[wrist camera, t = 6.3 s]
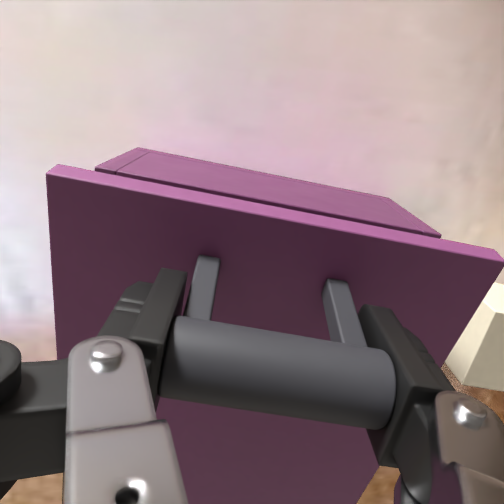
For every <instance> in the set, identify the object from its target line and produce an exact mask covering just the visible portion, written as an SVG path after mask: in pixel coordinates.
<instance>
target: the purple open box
mask: <svg viewBox="0 0 504 504" xmlns="http://www.w3.org/2000/svg"><path fill="white" fill-rule="evenodd" d="M95 171H96V172H101V173H106V174H111V175H117V176H122V177H127V178H132V179H137V180H142V181H147V182H152V183H157V184H163V185H168V186H173V187H178V188H183V189H188V190H193V191H198V192H203V193H209V194H214V195H219V196H224V197H229V198H234V199H239V200H244V201H249V202H255V203H260V204H265V205H270V206H275V207H280V208H285V209H290V210H295V211H301V212H306V213H311V214H316V215H321V216H326V217H331V218H336V219H341V220H347V221H352V222H357V223H362V224H367V225H372V226H377V227H382V228H387V229H393V230H398V231H403V232H408V233H413V234H418V235H423V236H428V237H433V238H439V239H440V238H441V234H440V233H438V232H437V231H435V230H434V229H433V228H431V227H430V226H428V225H427V224H425V223H424V222H422V221H421V220H420V219H418V218H417V217H415V216H414V215H412V214H411V213H410V212H408V211H407V210H405V209H404V208H402V207H401V206H399V205H398V204H397V203H395V202H394V201H392V200H391V199H389V198H386V197H381V196H376V195H371V194H366V193H361V192H356V191H351V190H346V189H341V188H336V187H331V186H326V185H321V184H316V183H311V182H307V181H302V180H297V179H292V178H287V177H282V176H277V175H272V174H267V173H262V172H257V171H252V170H247V169H242V168H237V167H232V166H227V165H223V164H218V163H213V162H208V161H203V160H198V159H193V158H188V157H183V156H178V155H173V154H168V153H163V152H158V151H153V150H148V149H143V148H135V149H133V150H131V151H128V152H126V153H124V154H122V155H120V156H117V157H115V158H113V159H111V160H109V161H106V162H104V163H102V164H100V165H97V166H95Z"/></svg>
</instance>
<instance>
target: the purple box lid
mask: <svg viewBox="0 0 504 504" xmlns="http://www.w3.org/2000/svg"><path fill="white" fill-rule="evenodd" d="M46 184H47V201H48V217H49V233H50V250H51V266H52V282H53V298H54V315H55V331H56V347H57V360H60V359H65V358H68V357H69V353H70V351H71V350H72V349H73V347H74V346H76V345H77V344H78V343H80V342H82V341H84V340H86V339H89V338H92V337H96V336H97V335H98V333H99V332H100V330H101V328H102V327H103V325H104V323H105V322H106V320H107V318H108V317H109V315H110V314H111V312H112V310H113V309H114V307H115V305H116V304H117V302H118V300H120V297H121V296H122V294H123V292H124V291H125V289H126V288H127V287H129V286H131V285H133V284H134V283H136V282H138V281H142V282H148V283H154V282H155V280H156V277H157V275H158V273H159V271H160V269H161V268H168V269H174V270H179V271H185V272H187V281H186V288H185V294H184V300H183V307H182V313H181V316H180V315H177V316H175V317H174V318H173V321H172V324H171V327H170V331H169V334H168V338H167V343H166V347H165V352H164V357H163V362H162V367H161V373H160V379H159V387H158V394H159V396H160V400H159V403H158V407H157V410H156V417H157V420H159V419H166V420H167V422H168V424H169V427H170V431H171V435H172V439H173V443H174V447H175V451H176V455H177V459H178V463H179V467H180V471H181V475H182V480H183V484H184V488H185V492H186V496H187V500H188V504H356V503H357V501H358V500H359V498H360V497H361V495H362V493H363V492H364V490H365V489H366V487H367V485H368V484H369V482H370V480H371V479H372V477H373V476H374V474H375V472H376V471H377V469H378V468H379V466H380V465H378V462H377V459H376V456H375V453H374V451H373V448H372V445H371V442H370V439H369V436H368V433H367V431H366V429H373V430H378V429H381V428H383V427H385V426H386V424H387V423H388V422H389V420H390V418H391V415H392V413H393V409H394V405H395V400H396V374H395V368H394V365H393V362H392V360H391V358H390V356H389V355H388V353H386V352H385V351H383V350H381V349H375V348H369V347H368V346H367V343H366V340H365V337H364V333H363V330H362V327H361V324H360V321H359V317H358V313H359V310H360V308H361V307H362V306H363V305H364V304H368V305H374V306H379V307H385V308H390V309H391V310H392V311H393V312H394V314H395V315H396V317H397V318H398V320H399V321H400V323H401V325H402V326H403V327H404V328H407V329H408V330H409V331H410V332H412V333H413V334H414V335H415V336H417V337H418V338H419V339H420V340H421V341H422V343H423V344H424V346H425V347H426V349H427V350H428V353H429V354H431V356H432V357H433V359H434V360H435V364H437V365H438V366H439V367H440V368H441V367H442V365H443V363H444V362H445V360H446V359H447V357H448V355H449V354H450V352H451V351H452V349H453V347H454V346H455V344H456V343H457V341H458V339H459V338H460V336H461V335H462V333H463V331H464V330H465V328H466V327H467V325H468V323H469V322H470V320H471V318H472V317H473V315H474V314H475V312H476V310H477V309H478V307H479V306H480V304H481V302H482V301H483V299H484V298H485V296H486V294H487V293H488V291H489V290H490V288H491V286H492V285H493V283H494V282H495V280H496V278H497V277H498V275H499V274H500V272H501V270H502V269H503V267H504V259H503V258H502V257H501V256H500V255H499V254H498V253H497V252H496V251H495V250H494V249H490V248H485V247H479V246H474V245H469V244H464V243H459V242H454V241H449V240H444V239H439V238H433V237H428V236H423V235H418V234H413V233H408V232H403V231H398V230H393V229H387V228H382V227H377V226H372V225H367V224H362V223H357V222H352V221H347V220H341V219H336V218H331V217H326V216H321V215H316V214H311V213H306V212H301V211H295V210H290V209H285V208H280V207H275V206H270V205H265V204H260V203H255V202H249V201H244V200H239V199H234V198H229V197H224V196H219V195H214V194H209V193H203V192H198V191H193V190H188V189H183V188H178V187H173V186H168V185H163V184H157V183H152V182H147V181H142V180H137V179H132V178H127V177H122V176H117V175H111V174H106V173H101V172H96V171H91V170H86V169H81V168H76V167H71V166H65V165H60V164H57V165H56V166H55V167H53V168H52V169H51V170H49V171H48V172H47V173H46Z"/></svg>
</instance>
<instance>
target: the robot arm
mask: <svg viewBox="0 0 504 504" xmlns="http://www.w3.org/2000/svg"><path fill="white" fill-rule="evenodd" d="M186 281H187V272H185V271H179V270H174V269H168V268H161V269H160V271H159V273H158V275H157V277H156V280H155V282H154V283H148V282H142V281H138V282H136V283H134V284H133V285H131V286H129V287H127V288H126V289H125V291H124V292H123V294H122V296H121V297H120V300H118V302H117V304H116V305H115V307H114V309H113V310H112V312H111V314H110V315H109V317H108V318H107V320H106V322H105V323H104V325H103V327H102V328H101V330H100V332H99V333H98V335H97V336H96V337H92V338H89V339H86V340H84V341H82V342H80V343H78V344H77V345H76V346H74V347H73V349H72V350H71V351H70V353H69V357H68V358H65V359H60V360H54V361H40V362H22V363H21V353H20V351H19V349H18V348H17V347H16V346H14V345H13V344H11V343H9V342H6V341H2V340H0V500H1V499H2V498H3V496H4V495H5V494H6V493H7V492H8V491H9V490H10V488H11V487H12V486H13V485H14V484H15V482H16V481H17V480H18V479H24V478H31V477H37V476H44V475H50V474H57V473H63V491H62V504H188V500H187V496H186V492H185V488H184V484H183V480H182V475H181V471H180V467H179V463H178V459H177V455H176V451H175V447H174V443H173V439H172V435H171V431H170V427H169V424H168V422H167V420H166V419H159V420H157V417H156V410H157V407H158V403H159V400H160V396H159V394H158V387H159V379H160V373H161V367H162V362H163V357H164V352H165V347H166V343H167V338H168V334H169V331H170V327H171V324H172V321H173V318H174V317H175V316H177V315H180V316H181V313H182V307H183V300H184V294H185V288H186ZM358 317H359V321H360V324H361V327H362V330H363V333H364V337H365V340H366V343H367V346H368V347H369V348H375V349H381V350H383V351H385V352H386V353H388V355H389V356H390V358H391V360H392V362H393V365H394V368H395V374H396V400H395V405H394V409H393V413H392V415H391V418H390V420H389V422H388V423H387V424H386V426H385V427H383V428H381V429H378V430H373V429H366V431H367V433H368V436H369V439H370V442H371V445H372V448H373V451H374V453H375V456H376V459H377V462H378V465H380V466H387V467H394V468H399V471H400V473H401V474H400V476H399V478H398V480H397V482H396V485H395V488H394V504H504V424H503V422H502V421H501V419H500V418H499V417H498V416H497V414H496V413H495V412H494V411H492V410H491V409H490V408H489V407H488V406H486V405H485V404H483V403H482V402H480V401H479V400H477V399H475V398H473V397H471V396H469V395H466V394H464V393H461V392H456V390H455V389H454V388H453V386H452V385H451V383H450V382H449V380H448V379H447V378H446V376H445V375H444V373H443V372H442V370H441V369H440V367H439V366H438V365H437V364H435V360H434V359H433V357H432V356H431V354H429V353H428V350H427V349H426V347H425V346H424V344H423V343H422V341H421V340H420V339H419V338H418V337H417V336H415V335H414V334H413V333H412V332H410V331H409V330H408V329H407V328H404V327H403V326H402V325H401V323H400V321H399V320H398V318H397V317H396V315H395V314H394V312H393V311H392V310H391V309H390V308H385V307H379V306H374V305H368V304H364V305H363V306H362V307H361V308H360V310H359V313H358Z"/></svg>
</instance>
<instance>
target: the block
mask: <svg viewBox="0 0 504 504" xmlns="http://www.w3.org/2000/svg"><path fill="white" fill-rule="evenodd" d="M445 364H446V365H447V366H448V368H449V369H450V370H451V372H452V373H453V374H454V376H455V377H456V378H457V379H458V381H459V382H460V383H461V384H462V385H467V386H473V387H479V388H485V389H491V390H497V391H503V392H504V284H499V283H493V285H492V286H491V288H490V290H489V291H488V293H487V294H486V296H485V298H484V299H483V301H482V302H481V304H480V306H479V307H478V309H477V310H476V312H475V314H474V315H473V317H472V318H471V320H470V322H469V323H468V325H467V327H466V328H465V330H464V331H463V333H462V335H461V336H460V338H459V339H458V341H457V343H456V344H455V346H454V347H453V349H452V351H451V352H450V354H449V355H448V357H447V359H446V360H445Z"/></svg>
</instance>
